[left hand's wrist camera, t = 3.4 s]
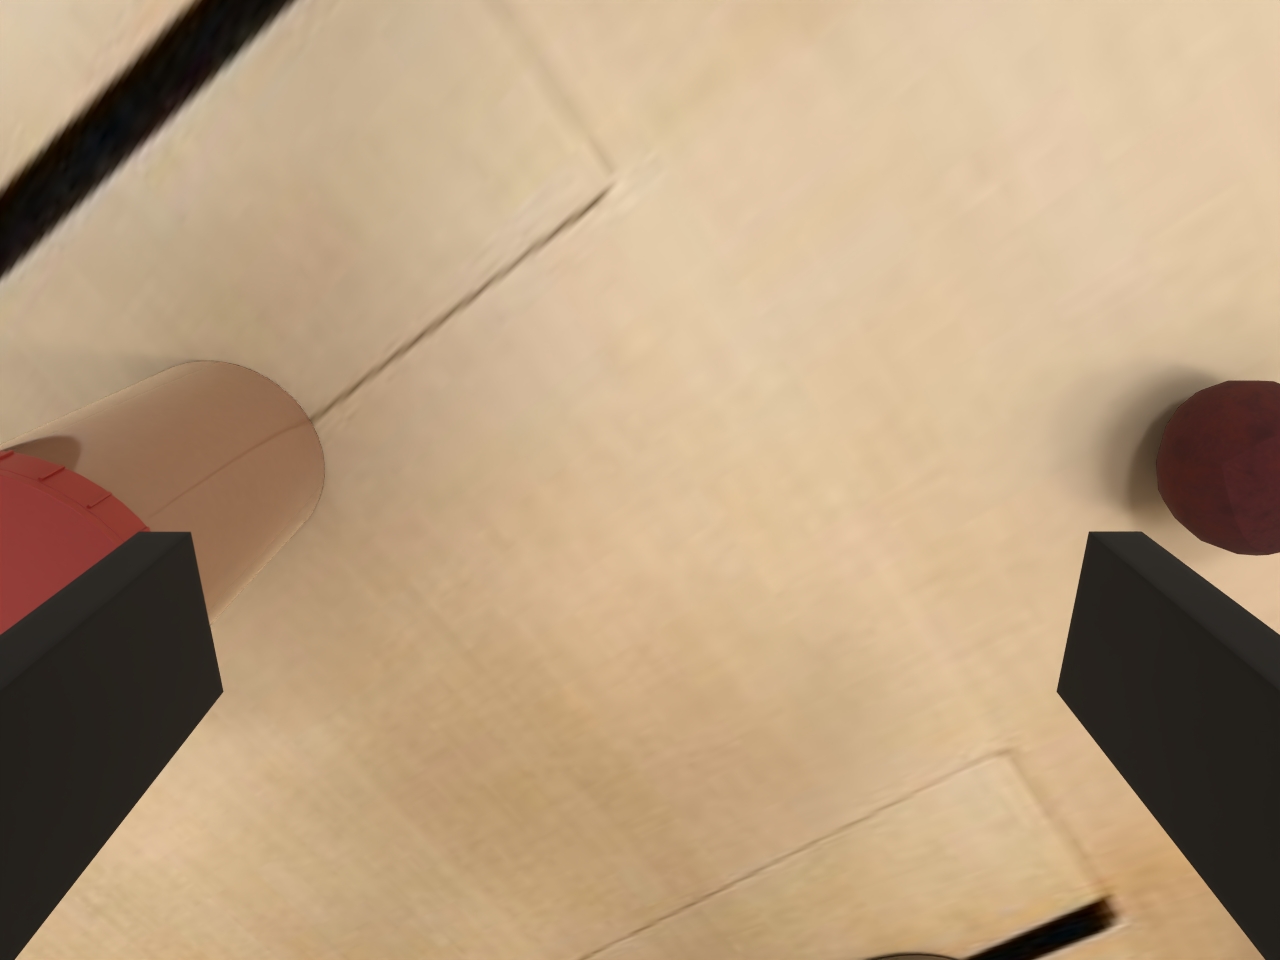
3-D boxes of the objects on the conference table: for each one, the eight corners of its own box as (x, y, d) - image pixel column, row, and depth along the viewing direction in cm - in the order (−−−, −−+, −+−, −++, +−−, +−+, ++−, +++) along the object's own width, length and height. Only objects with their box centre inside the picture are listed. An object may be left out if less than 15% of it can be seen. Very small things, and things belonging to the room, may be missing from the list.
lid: (192, 479, 27) (164, 498, 25) (191, 759, 30) (168, 791, 29) (-169, 418, 26) (-219, 434, 24) (-124, 713, 30) (-165, 743, 28)
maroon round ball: (1159, 540, 43) (1254, 610, 36) (1097, 416, 41) (1186, 466, 34) (1304, 463, 41) (1429, 521, 35) (1248, 330, 39) (1372, 365, 33)
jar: (330, 380, 40) (154, 508, 26) (319, 562, 44) (158, 766, 29) (120, 343, 40) (-183, 452, 25) (126, 530, 43) (-139, 723, 28)
